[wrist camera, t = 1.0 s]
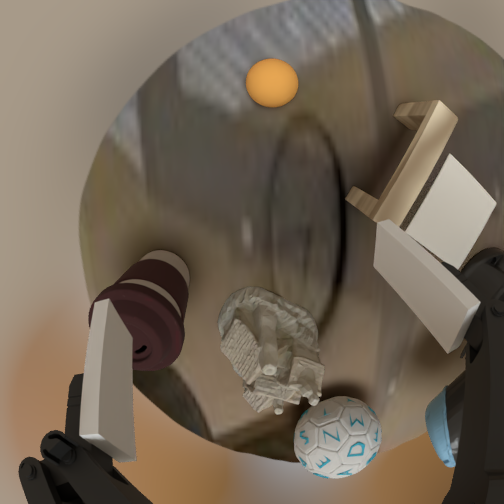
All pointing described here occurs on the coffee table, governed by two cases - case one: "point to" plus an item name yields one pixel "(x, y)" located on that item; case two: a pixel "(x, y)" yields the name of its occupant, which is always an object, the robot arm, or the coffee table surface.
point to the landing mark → (452, 214)
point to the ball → (272, 83)
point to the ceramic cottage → (271, 348)
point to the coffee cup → (152, 308)
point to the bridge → (410, 161)
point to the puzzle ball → (337, 437)
